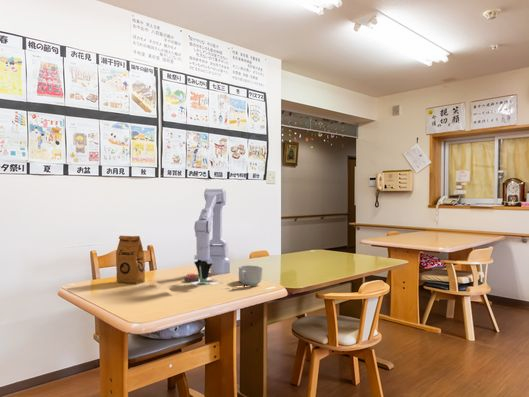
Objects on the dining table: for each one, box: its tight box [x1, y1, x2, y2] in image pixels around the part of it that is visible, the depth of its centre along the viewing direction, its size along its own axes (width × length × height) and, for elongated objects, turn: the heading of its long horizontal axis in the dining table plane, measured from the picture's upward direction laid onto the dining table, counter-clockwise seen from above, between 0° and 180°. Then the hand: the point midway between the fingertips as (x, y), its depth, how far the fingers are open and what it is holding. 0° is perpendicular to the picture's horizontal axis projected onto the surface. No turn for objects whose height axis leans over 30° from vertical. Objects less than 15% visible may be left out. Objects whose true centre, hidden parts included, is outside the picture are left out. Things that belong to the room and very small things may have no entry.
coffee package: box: [115, 235, 146, 285], centre depth 182 cm, size 10×12×22 cm
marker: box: [199, 267, 207, 282], centre depth 172 cm, size 3×3×7 cm
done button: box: [186, 272, 197, 279], centre depth 178 cm, size 3×3×2 cm
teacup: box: [238, 264, 264, 287], centre depth 175 cm, size 14×11×8 cm
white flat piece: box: [184, 276, 223, 287], centre depth 177 cm, size 13×15×3 cm
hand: (203, 277), depth 172 cm, fingers closed on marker, 3 cm apart
